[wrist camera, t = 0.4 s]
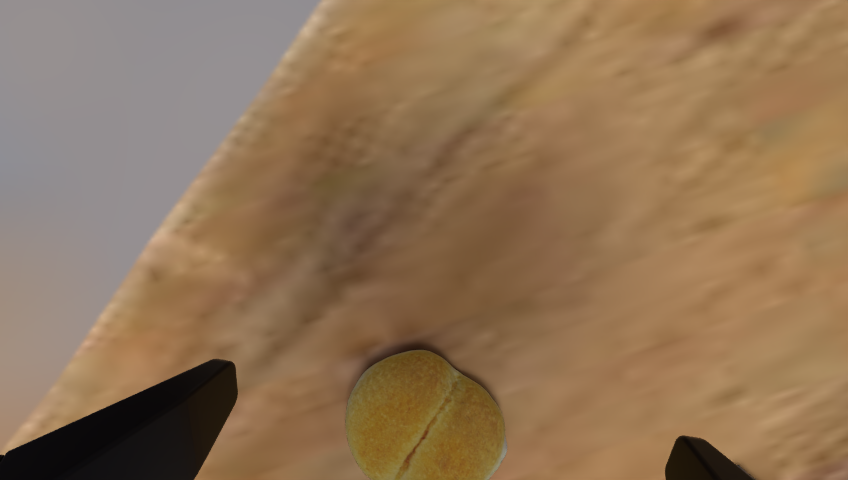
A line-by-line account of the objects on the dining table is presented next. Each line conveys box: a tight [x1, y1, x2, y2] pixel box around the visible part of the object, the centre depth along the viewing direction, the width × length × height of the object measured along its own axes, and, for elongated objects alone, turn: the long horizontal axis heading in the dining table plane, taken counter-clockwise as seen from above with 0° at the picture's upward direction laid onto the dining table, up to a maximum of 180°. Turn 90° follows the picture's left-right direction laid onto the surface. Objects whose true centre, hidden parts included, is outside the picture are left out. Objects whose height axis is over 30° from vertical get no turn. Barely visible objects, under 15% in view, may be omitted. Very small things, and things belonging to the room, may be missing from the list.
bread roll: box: [345, 350, 507, 480], centre depth 23 cm, size 8×9×4 cm
